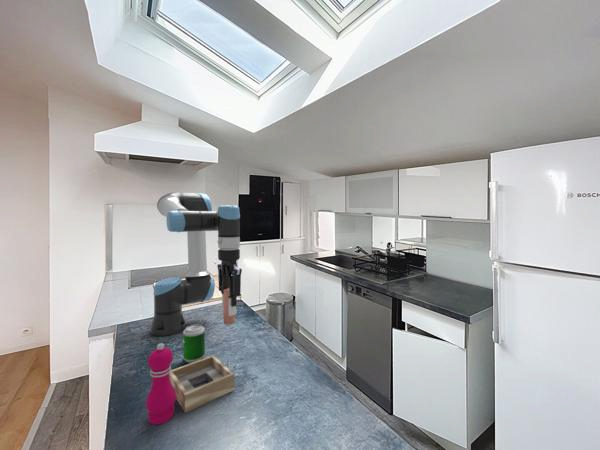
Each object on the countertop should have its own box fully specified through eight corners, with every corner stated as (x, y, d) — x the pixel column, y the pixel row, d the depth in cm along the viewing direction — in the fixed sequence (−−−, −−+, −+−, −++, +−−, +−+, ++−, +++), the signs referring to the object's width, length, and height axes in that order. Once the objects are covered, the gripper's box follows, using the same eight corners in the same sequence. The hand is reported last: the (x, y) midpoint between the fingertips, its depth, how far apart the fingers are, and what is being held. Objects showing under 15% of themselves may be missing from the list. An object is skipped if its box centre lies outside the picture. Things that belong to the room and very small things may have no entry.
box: (168, 386, 86) (167, 371, 86) (213, 368, 96) (213, 355, 96) (185, 412, 75) (185, 395, 75) (234, 389, 85) (234, 374, 85)
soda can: (209, 355, 105) (208, 325, 105) (195, 366, 98) (195, 333, 98) (193, 352, 108) (192, 322, 107) (178, 362, 101) (178, 330, 100)
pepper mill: (153, 407, 77) (152, 337, 77) (179, 405, 78) (179, 337, 77) (140, 427, 70) (139, 350, 69) (170, 425, 71) (169, 349, 70)
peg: (221, 322, 99) (221, 289, 99) (231, 319, 102) (231, 287, 102) (227, 325, 96) (227, 291, 96) (237, 322, 99) (237, 289, 99)
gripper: (208, 247, 102) (208, 309, 103) (231, 252, 89) (231, 322, 90) (226, 245, 107) (227, 304, 108) (251, 250, 94) (251, 317, 96)
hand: (229, 312), depth 99 cm, fingers closed on peg, 4 cm apart
